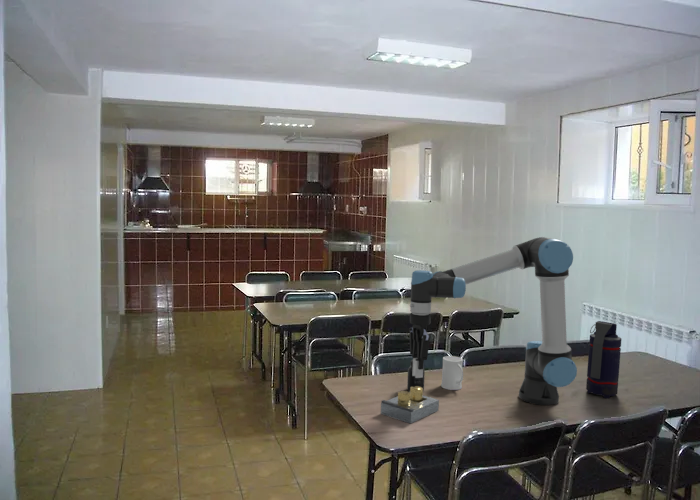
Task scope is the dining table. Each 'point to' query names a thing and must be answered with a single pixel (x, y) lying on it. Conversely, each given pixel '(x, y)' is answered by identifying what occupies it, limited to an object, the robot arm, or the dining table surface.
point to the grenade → (603, 360)
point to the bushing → (416, 393)
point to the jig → (408, 407)
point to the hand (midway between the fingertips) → (417, 376)
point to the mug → (452, 373)
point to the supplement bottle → (412, 380)
